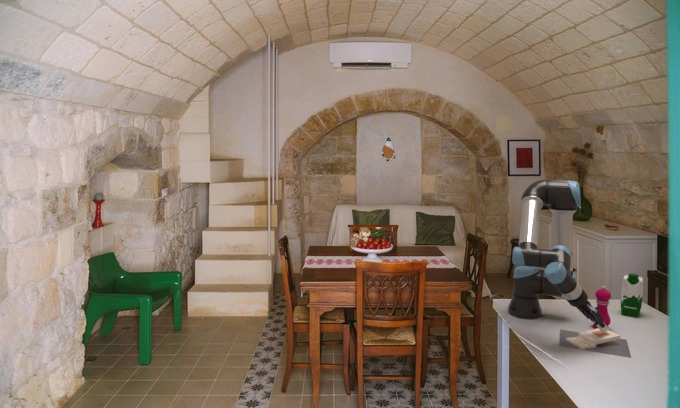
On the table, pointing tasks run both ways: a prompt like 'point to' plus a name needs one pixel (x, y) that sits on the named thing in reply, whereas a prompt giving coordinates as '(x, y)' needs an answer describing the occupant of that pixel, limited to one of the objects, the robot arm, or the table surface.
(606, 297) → the pepper mill
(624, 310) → the milk carton
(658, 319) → the table surface
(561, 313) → the table surface
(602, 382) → the table surface
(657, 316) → the table surface
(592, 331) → the cream flat block
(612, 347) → the slate board
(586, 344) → the base
